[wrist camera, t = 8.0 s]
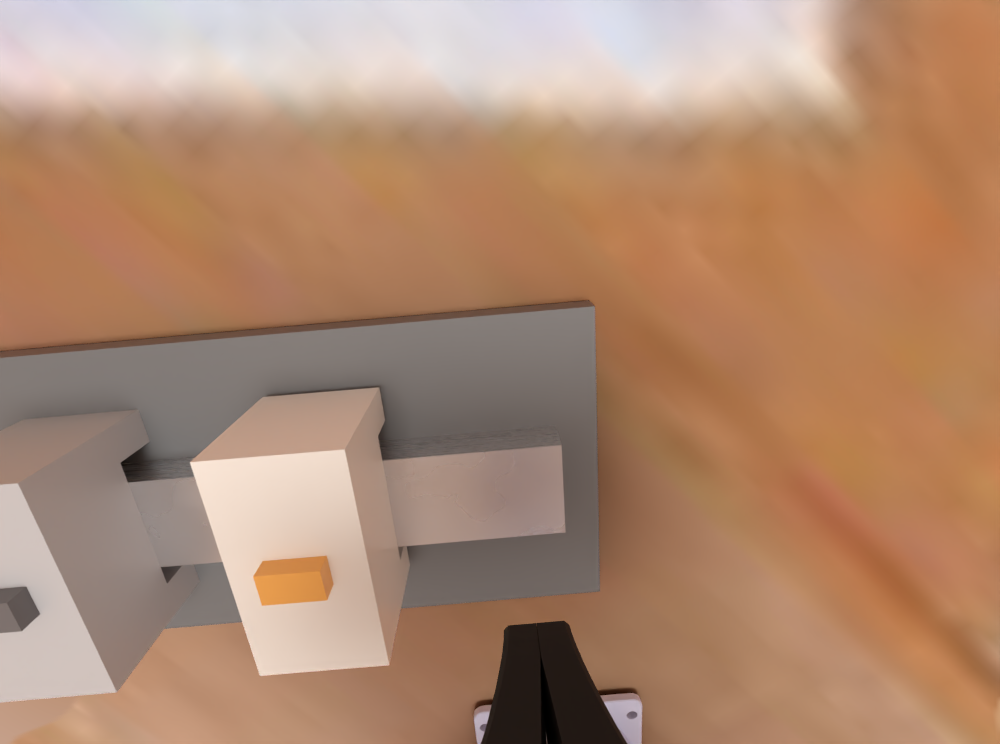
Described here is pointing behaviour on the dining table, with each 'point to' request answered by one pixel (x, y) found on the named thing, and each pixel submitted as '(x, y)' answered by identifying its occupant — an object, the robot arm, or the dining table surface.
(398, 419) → the mounting board
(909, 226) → the dining table surface
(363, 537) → the din module
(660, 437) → the dining table surface
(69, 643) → the module
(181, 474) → the din rail
